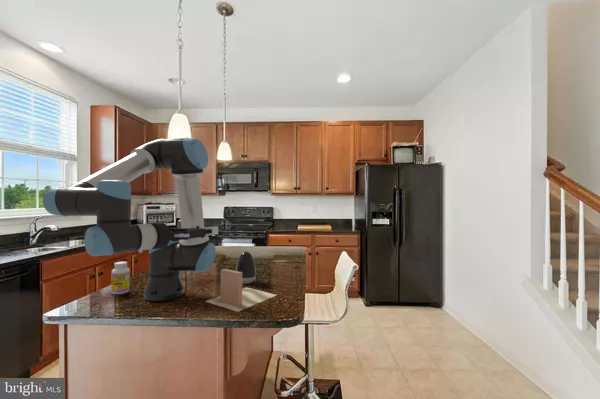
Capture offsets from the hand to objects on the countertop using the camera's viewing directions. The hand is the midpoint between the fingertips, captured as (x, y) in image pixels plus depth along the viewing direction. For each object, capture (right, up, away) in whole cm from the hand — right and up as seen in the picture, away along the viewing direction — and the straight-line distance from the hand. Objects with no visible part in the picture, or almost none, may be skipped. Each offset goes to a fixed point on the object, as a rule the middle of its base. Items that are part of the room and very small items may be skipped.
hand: (216, 230), depth 101 cm
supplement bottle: (-48, -29, +20) cm, 60 cm away
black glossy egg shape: (+3, -30, +36) cm, 47 cm away
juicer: (-35, -30, +48) cm, 66 cm away
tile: (+4, -28, +7) cm, 29 cm away
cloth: (+7, -29, +12) cm, 32 cm away
